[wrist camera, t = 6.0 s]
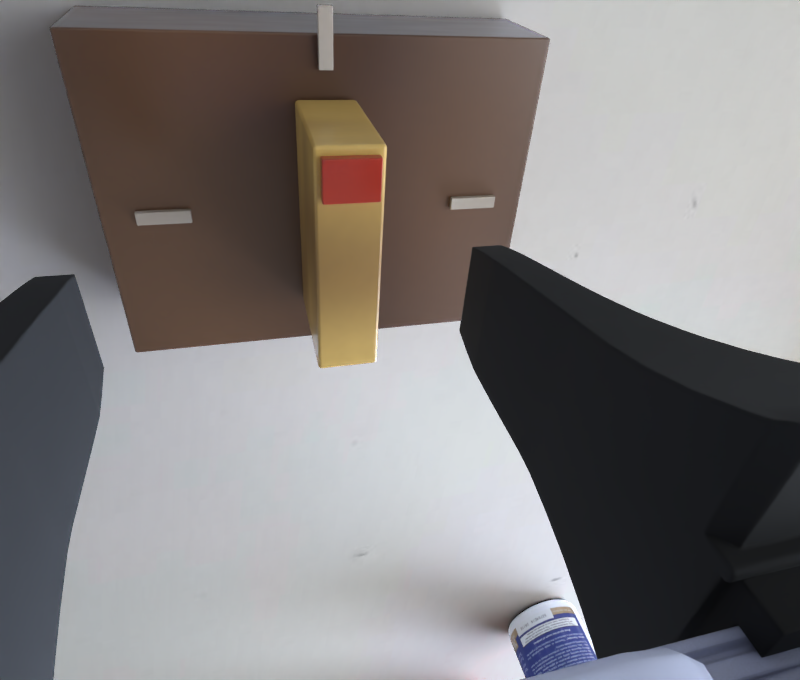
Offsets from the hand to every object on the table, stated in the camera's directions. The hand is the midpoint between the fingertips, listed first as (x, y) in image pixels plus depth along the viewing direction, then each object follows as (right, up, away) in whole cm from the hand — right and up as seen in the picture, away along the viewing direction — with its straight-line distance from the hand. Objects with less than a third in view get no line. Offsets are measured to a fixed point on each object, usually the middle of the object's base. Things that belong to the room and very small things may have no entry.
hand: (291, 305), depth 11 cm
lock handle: (0, +3, +6) cm, 6 cm away
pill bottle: (+13, -21, +33) cm, 41 cm away
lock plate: (-1, +5, +8) cm, 9 cm away
